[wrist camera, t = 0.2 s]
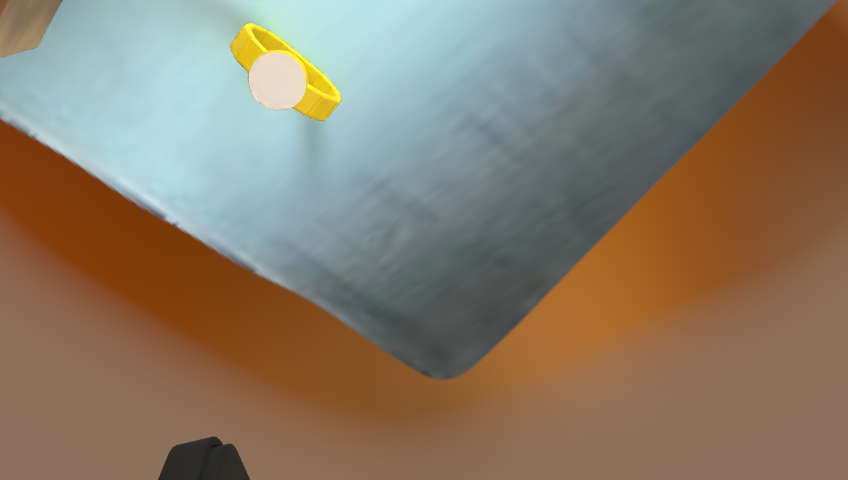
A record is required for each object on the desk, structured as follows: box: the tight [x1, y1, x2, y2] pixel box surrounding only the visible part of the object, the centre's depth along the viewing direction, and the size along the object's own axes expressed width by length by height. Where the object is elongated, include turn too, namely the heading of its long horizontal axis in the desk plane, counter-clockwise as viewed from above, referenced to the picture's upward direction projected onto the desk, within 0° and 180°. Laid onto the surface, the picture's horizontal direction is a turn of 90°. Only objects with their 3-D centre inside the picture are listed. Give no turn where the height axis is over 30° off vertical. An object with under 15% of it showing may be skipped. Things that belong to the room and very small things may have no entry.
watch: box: [230, 23, 342, 121], centre depth 34 cm, size 6×3×6 cm, turn 49°
